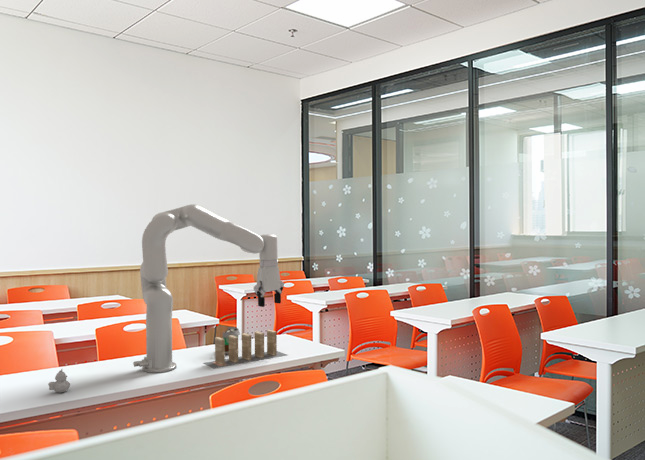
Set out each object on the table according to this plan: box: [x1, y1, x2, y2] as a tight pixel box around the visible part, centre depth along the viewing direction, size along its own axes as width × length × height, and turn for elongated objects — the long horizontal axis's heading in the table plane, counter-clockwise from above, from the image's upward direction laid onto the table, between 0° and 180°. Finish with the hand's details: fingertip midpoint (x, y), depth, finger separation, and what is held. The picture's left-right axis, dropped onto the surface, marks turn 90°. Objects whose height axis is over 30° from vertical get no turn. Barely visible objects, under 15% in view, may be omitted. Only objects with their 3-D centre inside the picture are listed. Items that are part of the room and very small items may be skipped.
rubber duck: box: [47, 368, 71, 394], centre depth 181 cm, size 5×7×8 cm
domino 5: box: [266, 329, 278, 356], centre depth 230 cm, size 2×5×10 cm, turn 37°
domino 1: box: [214, 336, 226, 365], centre depth 216 cm, size 2×5×10 cm, turn 38°
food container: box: [222, 326, 241, 356], centre depth 235 cm, size 12×6×10 cm, turn 179°
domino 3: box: [241, 332, 252, 360], centre depth 223 cm, size 2×5×10 cm, turn 37°
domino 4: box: [254, 331, 265, 358], centre depth 226 cm, size 2×5×10 cm, turn 37°
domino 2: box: [228, 335, 239, 363], centre depth 219 cm, size 2×5×10 cm, turn 37°
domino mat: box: [202, 350, 288, 369], centre depth 223 cm, size 34×10×1 cm, turn 127°
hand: (269, 304), depth 229 cm, fingers open, 9 cm apart
